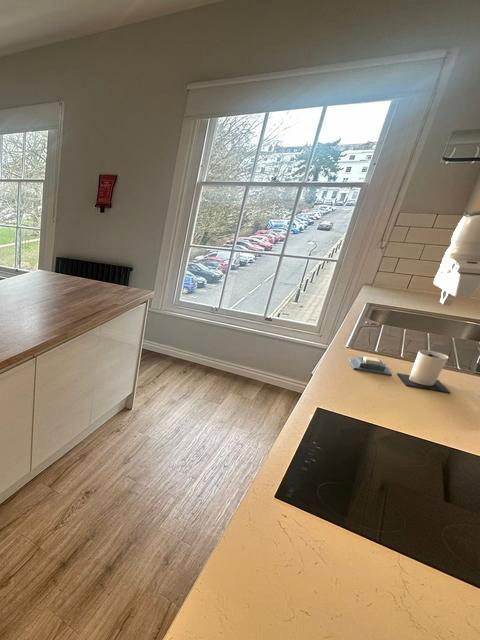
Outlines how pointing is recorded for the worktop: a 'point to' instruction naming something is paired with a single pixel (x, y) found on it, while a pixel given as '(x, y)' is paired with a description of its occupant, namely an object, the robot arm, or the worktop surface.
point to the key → (371, 360)
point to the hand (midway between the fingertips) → (444, 304)
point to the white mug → (427, 367)
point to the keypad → (369, 367)
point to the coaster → (436, 387)
